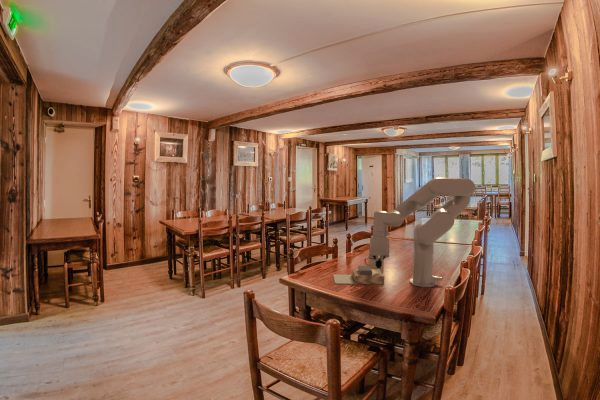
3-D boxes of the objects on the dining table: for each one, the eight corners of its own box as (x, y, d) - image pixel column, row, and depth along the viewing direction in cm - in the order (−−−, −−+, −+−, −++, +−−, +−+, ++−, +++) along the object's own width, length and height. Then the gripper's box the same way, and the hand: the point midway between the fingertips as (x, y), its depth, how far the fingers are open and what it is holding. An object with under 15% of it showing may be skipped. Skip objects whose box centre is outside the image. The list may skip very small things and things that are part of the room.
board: (379, 276, 176) (379, 269, 175) (384, 284, 163) (384, 276, 162) (352, 275, 176) (352, 268, 176) (355, 283, 163) (355, 276, 163)
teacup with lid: (386, 270, 186) (386, 251, 185) (380, 274, 179) (380, 254, 178) (367, 267, 193) (367, 248, 193) (361, 270, 186) (361, 251, 185)
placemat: (351, 275, 177) (351, 274, 177) (354, 284, 162) (354, 283, 162) (333, 275, 178) (333, 274, 178) (335, 284, 163) (335, 283, 163)
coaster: (369, 270, 174) (369, 265, 174) (372, 275, 165) (372, 270, 165) (358, 270, 174) (358, 265, 174) (360, 274, 165) (360, 270, 165)
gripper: (392, 233, 171) (390, 266, 172) (364, 232, 172) (363, 265, 173) (396, 235, 164) (394, 270, 165) (367, 234, 164) (365, 269, 166)
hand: (378, 267), depth 169 cm, fingers closed
